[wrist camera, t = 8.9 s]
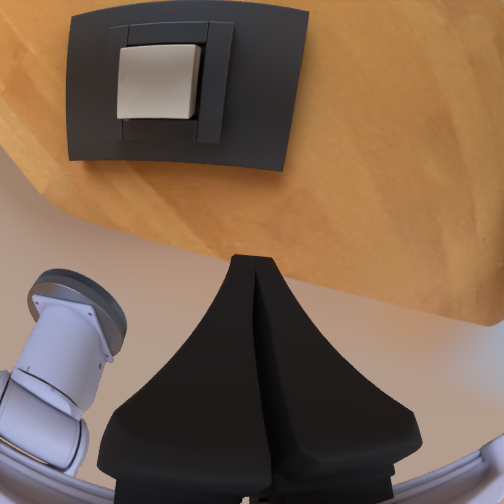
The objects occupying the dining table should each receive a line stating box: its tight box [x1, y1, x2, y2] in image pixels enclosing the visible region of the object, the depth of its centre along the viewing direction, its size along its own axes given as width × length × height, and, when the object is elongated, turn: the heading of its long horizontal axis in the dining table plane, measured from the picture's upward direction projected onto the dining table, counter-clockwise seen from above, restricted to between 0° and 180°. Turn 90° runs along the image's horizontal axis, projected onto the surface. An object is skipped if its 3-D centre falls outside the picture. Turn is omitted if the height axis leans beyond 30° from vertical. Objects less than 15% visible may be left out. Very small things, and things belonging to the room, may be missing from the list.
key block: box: [66, 0, 309, 172], centre depth 13 cm, size 10×14×4 cm
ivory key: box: [117, 45, 201, 119], centre depth 11 cm, size 4×4×2 cm
